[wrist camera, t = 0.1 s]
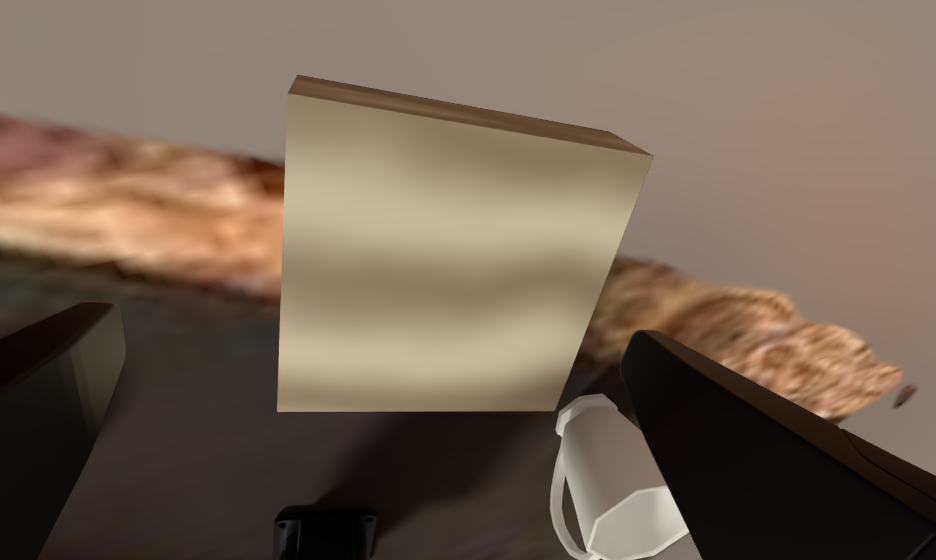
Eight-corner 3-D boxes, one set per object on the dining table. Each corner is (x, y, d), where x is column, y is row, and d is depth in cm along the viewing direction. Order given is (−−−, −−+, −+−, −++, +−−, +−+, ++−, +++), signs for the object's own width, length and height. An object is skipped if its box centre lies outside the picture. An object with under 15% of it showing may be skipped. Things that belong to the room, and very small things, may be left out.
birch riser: (531, 363, 30) (554, 411, 26) (285, 356, 26) (277, 411, 22) (609, 131, 23) (653, 155, 20) (297, 74, 19) (287, 93, 16)
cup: (652, 388, 33) (731, 491, 27) (578, 485, 37) (629, 596, 30) (569, 367, 31) (633, 475, 24) (498, 474, 35) (536, 593, 28)
